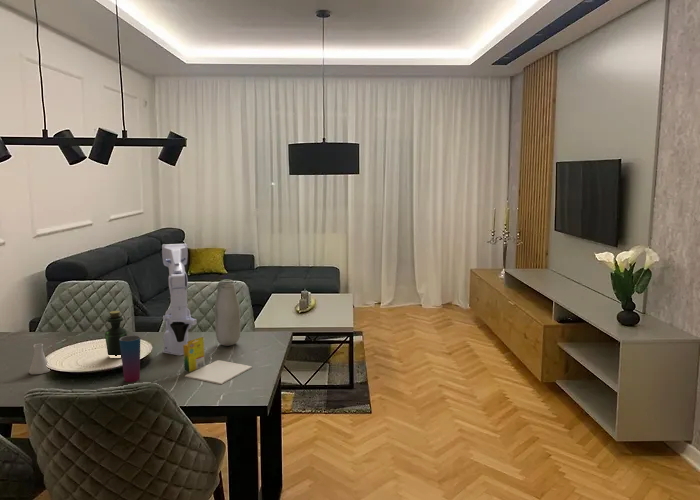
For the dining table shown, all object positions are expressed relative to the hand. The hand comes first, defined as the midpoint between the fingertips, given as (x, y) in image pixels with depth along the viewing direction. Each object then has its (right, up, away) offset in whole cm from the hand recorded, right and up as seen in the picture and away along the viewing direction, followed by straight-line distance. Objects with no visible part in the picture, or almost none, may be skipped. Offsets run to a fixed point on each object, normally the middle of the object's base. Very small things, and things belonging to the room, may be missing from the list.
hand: (180, 341), depth 204 cm
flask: (-50, -10, -5) cm, 51 cm away
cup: (-13, -12, -12) cm, 21 cm away
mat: (+16, -10, -5) cm, 20 cm away
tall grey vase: (+12, -6, +26) cm, 30 cm away
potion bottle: (-28, -8, +11) cm, 32 cm away
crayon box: (+6, -10, -1) cm, 12 cm away
